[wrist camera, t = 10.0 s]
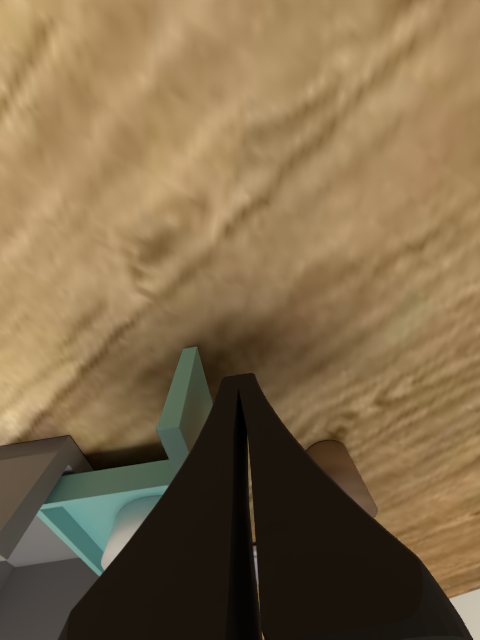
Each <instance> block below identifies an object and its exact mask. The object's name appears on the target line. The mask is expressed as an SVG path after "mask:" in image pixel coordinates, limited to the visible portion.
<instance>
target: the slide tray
mask: <svg viewBox="0 0 480 640" xmlns="http://www.w3.org/2000/svg"><path fill="white" fill-rule="evenodd" d="M212 406H213V403H212V399H211V396H210V392H209V388H208V385H207V381H206V377H205V374H204V370H203V366H202V363H201V359H200V356H199V352H198V348H197V347H191V348H185V349H183V350H182V353H181V356H180V359H179V362H178V365H177V368H176V371H175V374H174V377H173V381H172V384H171V387H170V390H169V393H168V396H167V399H166V402H165V405H164V408H163V411H162V414H161V417H160V420H159V423H158V426H157V429H156V431H157V434H158V436H159V438H160V440H161V442H162V445H163V447H164V449H165V451H166V453H167V456H168V458H169V460H162V461H156V462H149V463H143V464H137V465H130V466H124V467H117V468H111V469H105V470H98V471H92V472H85V473H79V474H73V475H66V476H61V477H60V478H59V480H58V482H57V483H56V485H55V486H54V488H53V489H52V491H51V493H50V494H49V496H48V497H47V499H46V500H45V502H44V504H43V505H42V507H41V508H40V510H39V511H38V513H37V514H36V515H37V516H38V517H39V518H40V519H41V520H42V521H43V522H44V523H45V524H46V525H47V526H48V527H49V528H50V529H51V530H52V531H53V532H54V533H55V534H56V535H57V536H58V537H59V538H60V539H61V540H62V541H63V542H64V543H66V544H67V545H68V546H69V547H70V548H71V549H72V550H73V551H74V552H75V553H76V554H77V555H78V556H79V557H80V558H81V559H82V560H83V561H84V562H85V563H86V564H87V565H88V566H89V567H90V568H91V569H92V570H93V571H94V572H95V573H96V574H97V575H98V576H100V575H101V574H102V573H103V572H104V569H103V568H102V566H101V559H102V557H103V554H104V551H105V548H106V546H107V543H108V540H109V537H110V535H111V532H112V529H113V526H114V524H115V521H116V518H117V515H118V513H119V511H120V510H121V508H123V507H124V506H125V505H126V504H128V503H130V502H132V501H134V500H137V499H140V498H144V497H149V496H162V495H163V494H164V492H165V491H166V489H167V488H168V486H169V485H170V483H171V482H172V480H173V478H174V477H175V475H176V474H177V472H178V471H179V469H180V468H181V466H182V464H183V463H184V461H185V459H186V458H187V456H188V454H189V453H190V451H191V449H192V447H193V445H194V444H195V442H196V440H197V438H198V436H199V434H200V432H201V430H202V428H203V426H204V424H205V422H206V420H207V418H208V415H209V413H210V411H211V409H212Z"/></svg>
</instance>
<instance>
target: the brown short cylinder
mask: <svg viewBox="0 0 480 640" xmlns="http://www.w3.org/2000/svg"><path fill="white" fill-rule="evenodd" d="M306 452H307V453H308V454H309V455H310V457H311V458H312V459H313V460H314V461H315V462H316V463H317V464H318V465H319V466H320V467H321V468H322V469H323V470H324V471H325V472H326V473H327V474H328V475H329V476H330V477H331V478H332V479H333V480H334V481H335V482H336V483H337V484H338V485H339V486H340V487H341V488H342V489H343V490H344V491H345V492H346V493H347V494H348V495H349V496H350V497H351V498H352V499H353V500H354V501H355V502H356V503H357V504H358V505H359V506H361V507H362V508H363V509H364V510H365V511H366V512H367V513H368V514H369V515H370V516H371V517H372V518H374V517H375V516H376V514H377V507H376V505H375V503H374V501H373V499H372V497H371V495H370V493H369V491H368V489H367V487H366V485H365V484H364V482H363V480H362V478H361V476H360V474H359V472H358V470H357V468H356V466H355V464H354V462H353V461H352V459H351V457H350V455H349V453H348V451H347V449H346V447H345V446H344V445H343V444H342V443H340V442H338V441H333V440H328V441H322V442H319V443H316V444H314V445H313V446H311V447H310V448H309V449H308V450H307V451H306Z"/></svg>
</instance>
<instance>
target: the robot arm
mask: <svg viewBox="0 0 480 640" xmlns="http://www.w3.org/2000/svg"><path fill="white" fill-rule="evenodd" d="M247 434H248V437H247ZM248 442H249V454H250V467H251V480H252V493H253V507H254V522H255V537H256V546H253V541H252V530H251V520H250V509H249V487H248ZM256 579H257V581H256ZM257 583H258V586H259V601H258V591H257ZM259 603H260V610H259ZM262 633H263V636H264V640H473V638H472V636H471V635H470V633H469V631H468V629H467V627H466V626H465V624H464V622H463V620H462V618H461V617H460V615H459V614H458V612H457V611H456V609H455V608H454V606H453V605H452V603H451V602H450V600H449V599H448V597H447V596H446V594H445V593H444V592H443V590H442V589H441V587H440V586H439V584H438V583H437V581H436V580H435V579H434V577H433V576H432V575H431V573H430V572H429V571H428V569H427V568H426V567H425V565H424V564H423V563H422V561H421V560H420V559H419V558H418V557H417V556H416V555H415V554H414V553H413V552H412V551H411V550H409V549H408V548H407V547H406V546H405V545H404V544H402V543H401V542H400V541H399V540H398V539H397V538H395V537H394V536H393V535H392V534H391V533H390V532H388V531H387V530H386V529H385V528H384V527H383V526H382V525H380V524H379V523H378V522H377V521H376V520H375V519H374V518H372V517H371V516H370V515H369V514H368V513H367V512H366V511H365V510H364V509H363V508H362V507H361V506H359V505H358V504H357V503H356V502H355V501H354V500H353V499H352V498H351V497H350V496H349V495H348V494H347V493H346V492H345V491H344V490H343V489H342V488H341V487H340V486H339V485H338V484H337V483H336V482H335V481H334V480H333V479H332V478H331V477H330V476H329V475H328V474H327V473H326V472H325V471H324V470H323V469H322V468H321V467H320V466H319V465H318V464H317V463H316V462H315V461H314V460H313V459H312V458H311V457H310V455H309V454H308V453H307V452H306V451H305V450H304V449H303V448H302V446H301V445H300V444H299V443H298V442H297V441H296V439H295V438H294V437H293V436H292V434H291V433H290V432H289V431H288V429H287V428H286V427H285V425H284V424H283V423H282V421H281V420H280V419H279V417H278V416H277V414H276V413H275V411H274V410H273V408H272V407H271V405H270V404H269V402H268V401H267V399H266V397H265V396H264V394H263V392H262V390H261V388H260V386H259V384H258V382H257V379H256V377H255V374H253V373H248V374H242V375H236V376H229V377H224V378H223V379H222V381H221V385H220V388H219V391H218V394H217V396H216V399H215V401H214V404H213V406H212V409H211V411H210V413H209V415H208V418H207V420H206V422H205V424H204V426H203V428H202V430H201V432H200V434H199V436H198V438H197V440H196V442H195V444H194V445H193V447H192V449H191V451H190V453H189V454H188V456H187V458H186V459H185V461H184V463H183V464H182V466H181V468H180V469H179V471H178V472H177V474H176V475H175V477H174V478H173V480H172V482H171V483H170V485H169V486H168V488H167V489H166V491H165V492H164V494H163V495H162V496H161V498H160V499H159V501H158V502H157V504H156V505H155V506H154V508H153V509H152V510H151V512H150V513H149V514H148V516H147V517H146V518H145V520H144V521H143V522H142V524H141V525H140V526H139V528H138V529H137V530H136V532H135V533H134V534H133V536H132V537H131V538H130V540H129V541H128V542H127V544H126V545H125V546H124V547H123V549H122V550H121V551H120V552H119V554H118V555H117V556H116V557H115V558H114V560H113V561H112V562H111V563H110V564H109V566H108V567H107V568H106V569H105V570H104V572H103V573H102V574H101V575H100V576H99V578H98V579H97V580H96V581H95V582H94V584H93V585H92V586H91V587H90V588H89V590H88V591H87V592H86V593H85V594H84V596H83V597H82V598H81V599H80V600H79V602H78V603H77V604H76V605H75V606H74V608H73V609H72V610H71V611H70V614H69V616H68V618H67V621H66V623H65V625H64V627H63V629H62V631H61V633H60V635H59V638H58V640H263V639H262Z"/></svg>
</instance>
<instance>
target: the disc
mask: <svg viewBox="0 0 480 640" xmlns="http://www.w3.org/2000/svg"><path fill="white" fill-rule="evenodd" d="M160 498H161V496H149V497H144V498H140V499H137V500H134V501H132V502H130V503H128V504H126V505H125V506H124V507H123V508H121V510H120V511H119V513H118V515H117V518H116V521H115V524H114V526H113V529H112V532H111V535H110V537H109V540H108V543H107V546H106V548H105V551H104V554H103V557H102V559H101V566H102V568H103V569H104V570H105V569H106V568H107V567H108V566H109V564H110V563H111V562H112V561H113V560H114V558H115V557H116V556H117V555H118V554H119V552H120V551H121V550H122V549H123V547H124V546H125V545H126V544H127V542H128V541H129V540H130V538H131V537H132V536H133V534H134V533H135V532H136V530H137V529H138V528H139V526H140V525H141V524H142V522H143V521H144V520H145V518H146V517H147V516H148V514H149V513H150V512H151V510H152V509H153V508H154V506H155V505H156V504H157V502H158V501H159V499H160Z"/></svg>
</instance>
